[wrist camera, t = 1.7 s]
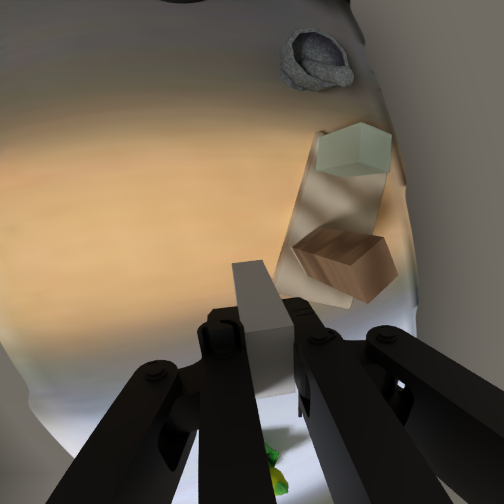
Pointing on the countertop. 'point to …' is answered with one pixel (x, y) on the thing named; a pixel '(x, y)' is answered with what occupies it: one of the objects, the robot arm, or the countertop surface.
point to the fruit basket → (276, 472)
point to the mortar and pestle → (314, 61)
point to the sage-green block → (355, 151)
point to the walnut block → (347, 261)
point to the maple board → (326, 224)
